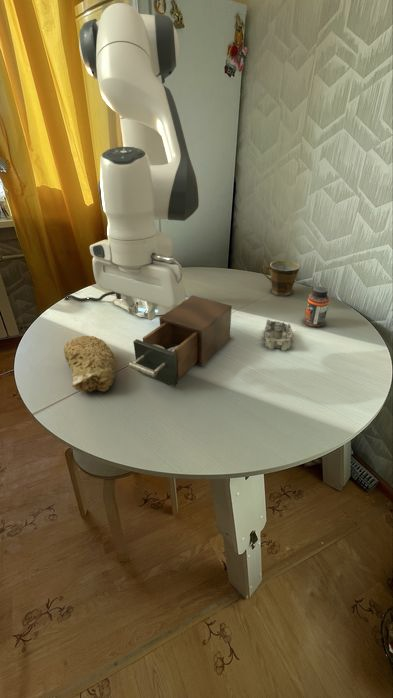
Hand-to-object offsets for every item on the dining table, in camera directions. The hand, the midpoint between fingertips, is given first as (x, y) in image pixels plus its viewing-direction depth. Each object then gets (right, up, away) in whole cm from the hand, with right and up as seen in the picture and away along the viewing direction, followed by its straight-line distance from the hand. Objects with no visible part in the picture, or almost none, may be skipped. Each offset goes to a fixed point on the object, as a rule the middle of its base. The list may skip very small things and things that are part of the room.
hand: (141, 315), depth 73 cm
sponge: (-15, -13, +16) cm, 26 cm away
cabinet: (+11, -6, +26) cm, 29 cm away
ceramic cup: (+40, +14, +55) cm, 69 cm away
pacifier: (+6, -9, +12) cm, 16 cm away
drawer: (+4, -12, +15) cm, 20 cm away
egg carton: (+34, -4, +27) cm, 44 cm away
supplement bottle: (+47, +1, +35) cm, 59 cm away
